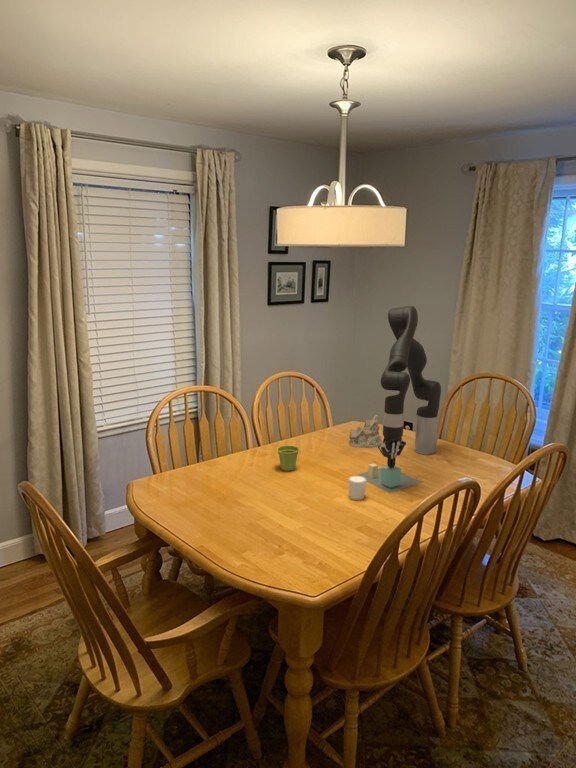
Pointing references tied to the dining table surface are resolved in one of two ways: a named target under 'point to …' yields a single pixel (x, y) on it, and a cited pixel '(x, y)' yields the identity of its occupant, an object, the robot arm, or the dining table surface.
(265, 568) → the dining table surface
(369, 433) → the ceramic cottage
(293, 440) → the dining table surface
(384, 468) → the teal block
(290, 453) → the plant pot
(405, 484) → the board
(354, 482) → the white cylinder
